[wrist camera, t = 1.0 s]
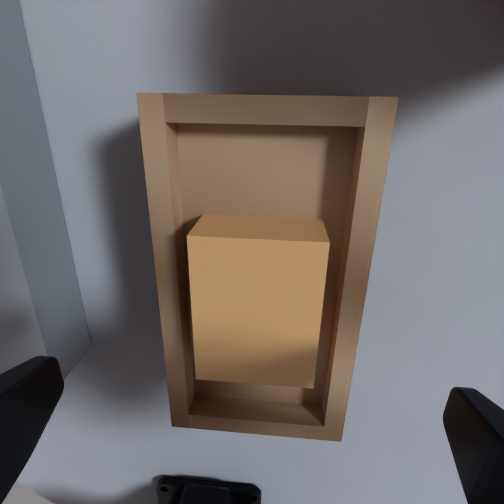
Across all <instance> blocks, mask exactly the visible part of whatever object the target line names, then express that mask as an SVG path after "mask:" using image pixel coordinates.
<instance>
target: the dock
mask: <svg viewBox="0 0 504 504" xmlns="http://www.w3.org/2000/svg"><path fill="white" fill-rule="evenodd" d="M90 346H91V343H90V338H89V333H88V328H87V324H86V319H85V314H84V309H83V304H82V300H81V295H80V290H79V285H78V281H77V276H76V271H75V266H74V261H73V257H72V252H71V247H70V242H69V237H68V233H67V228H66V223H65V218H64V214H63V209H62V204H61V199H60V194H59V190H58V185H57V180H56V175H55V170H54V166H53V161H52V156H51V151H50V146H49V142H48V137H47V132H46V127H45V123H44V118H43V113H42V108H41V103H40V99H39V94H38V89H37V84H36V79H35V75H34V70H33V65H32V60H31V56H30V51H29V46H28V41H27V36H26V32H25V27H24V22H23V17H22V12H21V8H20V3H19V0H0V374H2V373H4V372H6V371H8V370H10V369H12V368H14V367H16V366H18V365H20V364H21V363H23V362H25V361H27V360H29V359H31V358H33V357H36V356H40V355H42V356H54V357H56V358H57V359H58V362H59V365H60V369H61V373H62V377H63V380H64V378H65V377H66V376H67V375H68V373H69V372H70V371H71V370H72V368H73V367H74V366H75V365H76V363H77V362H78V361H79V360H80V358H81V357H82V356H83V355H84V353H85V352H86V351H87V350H88V349H89V347H90Z"/></svg>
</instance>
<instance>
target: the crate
mask: <svg viewBox="0 0 504 504" xmlns="http://www.w3.org/2000/svg"><path fill="white" fill-rule="evenodd" d="M329 246H330V241H329V238H328V235H327V232H326V229H325V226H324V222H323V219H308V218H284V217H260V216H236V215H212V214H203V215H202V216H201V218H200V219H199V220H198V222H197V223H196V224H195V226H194V227H193V228H192V230H191V231H190V232H189V233H188V235H187V247H188V263H189V279H190V295H191V310H192V326H193V342H194V357H195V373H196V379H199V380H211V381H224V382H236V383H249V384H261V385H274V386H286V387H299V388H312V389H313V388H314V379H315V370H316V361H317V352H318V343H319V334H320V326H321V317H322V308H323V299H324V290H325V281H326V272H327V263H328V255H329Z"/></svg>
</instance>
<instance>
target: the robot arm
mask: <svg viewBox="0 0 504 504" xmlns="http://www.w3.org/2000/svg"><path fill="white" fill-rule="evenodd" d="M63 389H64V381H63V377H62V373H61V369H60V365H59V362H58V359H57V358H56V357H54V356H42V355H40V356H36V357H33V358H31V359H29V360H27V361H25V362H23V363H21V364H20V365H18V366H16V367H14V368H12V369H10V370H8V371H6V372H4V373H2V374H0V504H2V502H3V500H4V499H5V498H6V496H7V494H8V493H9V491H10V490H11V488H12V486H13V485H14V483H15V481H16V480H17V478H18V477H19V475H20V473H21V472H22V470H23V468H24V467H25V465H26V463H27V462H28V460H29V458H30V456H31V454H32V453H33V451H34V449H35V447H36V445H37V443H38V441H39V439H40V437H41V435H42V433H43V431H44V429H45V427H46V425H47V423H48V421H49V419H50V417H51V415H52V413H53V411H54V409H55V407H56V405H57V403H58V401H59V399H60V397H61V395H62V393H63ZM443 424H444V428H445V431H446V434H447V438H448V441H449V444H450V448H451V451H452V454H453V457H454V461H455V464H456V467H457V471H458V474H459V477H460V480H461V484H462V487H463V490H464V493H465V496H466V499H467V502H468V504H504V410H503V409H502V408H500V407H499V406H498V405H496V404H495V403H494V402H492V401H491V400H490V399H488V398H487V397H485V396H484V395H483V394H481V393H480V392H479V391H477V390H476V389H473V388H466V387H454V388H453V389H452V390H451V391H450V394H449V397H448V401H447V404H446V407H445V410H444V413H443ZM157 495H158V502H159V504H261V490H260V489H259V488H257V487H254V486H244V485H234V484H224V483H214V482H204V481H194V480H185V479H175V478H161V479H160V480H159V482H158V485H157Z"/></svg>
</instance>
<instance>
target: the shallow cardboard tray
mask: <svg viewBox="0 0 504 504" xmlns="http://www.w3.org/2000/svg"><path fill="white" fill-rule="evenodd" d="M136 94H137V104H138V113H139V122H140V132H141V141H142V151H143V160H144V169H145V179H146V188H147V197H148V207H149V216H150V226H151V235H152V244H153V254H154V263H155V273H156V282H157V291H158V301H159V310H160V319H161V329H162V338H163V348H164V357H165V366H166V376H167V385H168V394H169V404H170V413H171V423H172V426H173V427H184V428H195V429H206V430H218V431H229V432H240V433H251V434H262V435H273V436H284V437H295V438H306V439H317V440H328V441H340V442H341V439H342V433H343V427H344V421H345V415H346V409H347V403H348V397H349V391H350V385H351V380H352V374H353V368H354V362H355V356H356V350H357V344H358V338H359V332H360V326H361V320H362V314H363V308H364V302H365V296H366V290H367V284H368V278H369V272H370V266H371V260H372V254H373V249H374V243H375V237H376V231H377V225H378V219H379V213H380V207H381V201H382V195H383V189H384V183H385V177H386V171H387V165H388V159H389V153H390V147H391V141H392V135H393V129H394V123H395V118H396V112H397V106H398V100H399V97H375V96H307V95H240V94H172V93H136ZM203 214H212V215H236V216H260V217H284V218H308V219H323V222H324V226H325V229H326V232H327V235H328V238H329V241H330V246H329V255H328V263H327V272H326V281H325V290H324V299H323V308H322V317H321V326H320V334H319V343H318V352H317V361H316V370H315V379H314V388H313V389H312V388H299V387H286V386H274V385H261V384H249V383H236V382H224V381H211V380H199V379H196V373H195V357H194V342H193V326H192V310H191V295H190V279H189V263H188V247H187V235H188V233H189V232H190V231H191V230H192V228H193V227H194V226H195V224H196V223H197V222H198V220H199V219H200V218H201V216H202V215H203Z"/></svg>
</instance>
